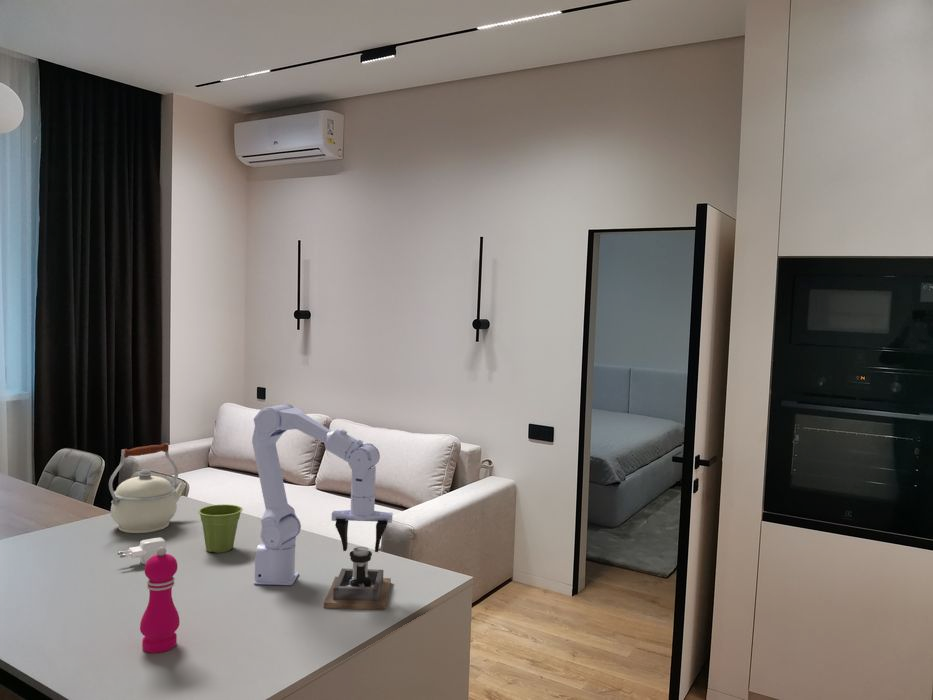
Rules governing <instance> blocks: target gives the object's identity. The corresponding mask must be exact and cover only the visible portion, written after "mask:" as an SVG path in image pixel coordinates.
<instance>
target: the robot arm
mask: <svg viewBox="0 0 933 700" xmlns="http://www.w3.org/2000/svg"><path fill="white" fill-rule="evenodd" d="M253 422H254V427H253V428H254V429H253V434H252V438H251V443H252V446H253V447H252V448H253V452H254V458H255V462H256V463H255V464H256V468H257V473H258V478H259V483H260V487H261V493H262V498H263V502H264V507H265V510H264V511H263V512H264V513H263V515H262V517H261V519H260V523H261V530H260V539H261V541H262V543H259V544H258V545H257V547H256V549H255V557H254V559H255V560H254V580H253V584H254V585H269V586H270V585H271V586H273V585H274V586H292V585H293V584H294V583H295V581H296V579H297V578H298V577H299V574H300V573H299V571H296V567H295V566H296V541H297V536H299V534H300V532H301V530H302V524H301V521H300V519H299V518H298V516H297V515H296V511H295V508H294V507H293V506H292V505H290V504H289V503H288V499H287V494H286V493H287V492H286V488H285V483H284V478H283V473H282V469H281V463H280V459H279V453H278V449H277V442H278V441H279V439H280V438H281V437H282V435H283V434H285V432H287V431H288V430H291V431H293V430H298V431H300V432H302V433H303V434H305V435H307V436H310V437H311V438H312V439H313V438H314V439H315V440H317V441H319V442H321V443H324V448H325V450H326V451H328V452H330V453H331V454H333V455H335V456H336V457H338V458H339V459H341V460H343V461H345V462H346V463H348V466H349V468H350V469H351V483H350V484H351V485H350V486H351V487H350V488H351V489H350V490H351V491H350V509H346V510H332V512H331V522H332V521H333V522H335V525H334V526H335V529H336V531H337V532H338V534H339V536H340V539H341V543H342V544H341V545H342V552H346V551H347V550H348V545H349V544H348V532H349V531H348V528H349V521H352V522H376V524H375V547H374V552H375V553H378V552H379V551H380V550H379V549H380V544H381V540H382V537H383V534H384V532H385V531H386V528H387V526H388V524H392V523H393V515H394V513H393V512H386V511H379V510H378V511H377V510H375V505H376V504H375V503H376V502H375V500H376V497H375V496H376V478H377V477H376V475H377V474H376V470H377V468H376V466H377V464H379V461H380V458H381V455H380V451H379V449H378V447H376V446H375V445H374V444H373V443H369V442H367V443H364V441H363V440H361V439H356V438H355V437H353V436H351V435H349V434H347V433H348V431H347V430H345V429H334V430H330V428H328V427H326V426H324V425H323V424H321V423H319V422H318V421H316V420H315V419H313V418H312V417H310V416H309V415H307V414H306V413H304V412H303V411H302V410H301V409H300V408H298V407H295V406H293V405H292V404H289V403H281V404H280V405H279V404H278V405H274V406H269V407H268V406H267V407H263V408H262V409H260V410H259V411H258V412H257V414H256V415H255V417H254V418H253Z"/></svg>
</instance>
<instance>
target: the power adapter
mask: <svg viewBox="0 0 933 700" xmlns="http://www.w3.org/2000/svg"><path fill="white" fill-rule="evenodd" d="M166 544H167V543H166V540H165V539H164V538H163V537H153V538H147V539H142V540H140V542H139V545H137V546H133V547H128V550H124V551H123V550H122V551H117V555H119V558H120V559H121V558H122V559H123V558H127V557H131V558H132V559H135V558H136V559H137V558H138V559H139V562H140V564H141V565H144V566H145V565H146V562H147V561H148V560H149V559H150V558H151V557H152V556H154V555H157V549H158V548H160V547H164V548H167V546H166Z"/></svg>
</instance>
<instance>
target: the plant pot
mask: <svg viewBox="0 0 933 700" xmlns="http://www.w3.org/2000/svg"><path fill="white" fill-rule="evenodd" d="M242 512H243V507H242V506H240V505H235V504H211V505H206V506H204V507H201V508H199V509H198V510H197V513H198V514H199V515H200V521H201V523H202V530H203V536H204V544H205V550H206V551H207V552H210V553H211V552H213V553H217V554H219V553H220V554H221V553H226V552H229V551H231V549H232V550H233V548H234V544H235V538H236V535H237V534H236V533H237V530H238V524H239V520H240V516H241V513H242Z"/></svg>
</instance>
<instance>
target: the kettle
mask: <svg viewBox="0 0 933 700" xmlns="http://www.w3.org/2000/svg"><path fill="white" fill-rule="evenodd" d="M169 446H170V445H169V443H166V442H165V443H162V444H151V445H144V446H137V447H133V448H131V449H127V448H124V449H121V451H120V452H121V454H120V455H121V457H120V458H121V459H120V462H119V465H118V466H117V467H116V468H115V470H114V471H113V473H112V474H111V475H110V478H109V481H108V489H109V493H110V494H111V497H112V500H111V502H110V503H111V506H110V515H111V518H112V520H113V521H114V523H116V524H117V525H118V530H119V531H121V532H123V533H127V534H147V533H154V532H158V531H161V530H164V529H166V528H168V526H169V525H170V520H171V519H172V518H174V516H175V514H176V512H177V507H178V506H177V505H178V502H179V500H180V498H181V496H182V494H183V491H184V490H185V487H186V485H187V483H185V482H180V483H179V484H178V486H177V487H175V486H176V483H177V480H178V477H179V468H178V465H177V464H176V463H175V462H174V460H173V459H172V458H171V457H170V455H169V454H170V453H169ZM159 452H160V453H161V452H163V453H164V454H165V457H166V458H167V460H168V461H169V463H171V464H172V465H171V466H173V468H174V476H173V479H172V482H171V481H170V480H168V479H167V478H163V477H162V476H158V475H157V476H155V475H153V472H152V471H151V470H150V469H147V468H143V469H141V470H140V471H139V472H138V473H137V475H138V476H135V477H131V478H127V479H125V480H124V481H122V482H121V483H120V484H119V485H118V486H117V487H116V490H114V488H113V487H114V486H113V482H114V479H115V477H116V476H117V474H118V472H119V471H120V470H121V469H122V467H123V466H124V463H125V459H127V458H128V457H138V456H145V455H151V454H152V455H153V454H158V453H159Z"/></svg>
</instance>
